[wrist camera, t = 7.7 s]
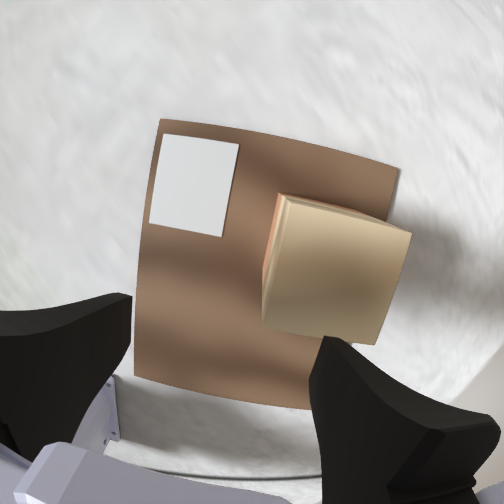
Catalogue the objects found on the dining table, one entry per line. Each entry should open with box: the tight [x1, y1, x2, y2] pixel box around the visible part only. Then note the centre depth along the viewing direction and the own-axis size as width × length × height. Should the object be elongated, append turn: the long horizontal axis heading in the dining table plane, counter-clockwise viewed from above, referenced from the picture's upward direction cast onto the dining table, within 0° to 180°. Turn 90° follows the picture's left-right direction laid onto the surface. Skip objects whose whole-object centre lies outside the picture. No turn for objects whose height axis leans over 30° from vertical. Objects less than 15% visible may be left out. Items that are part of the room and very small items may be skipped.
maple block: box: [262, 195, 412, 345], centre depth 14 cm, size 5×5×5 cm
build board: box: [134, 119, 397, 410], centre depth 21 cm, size 20×16×1 cm
